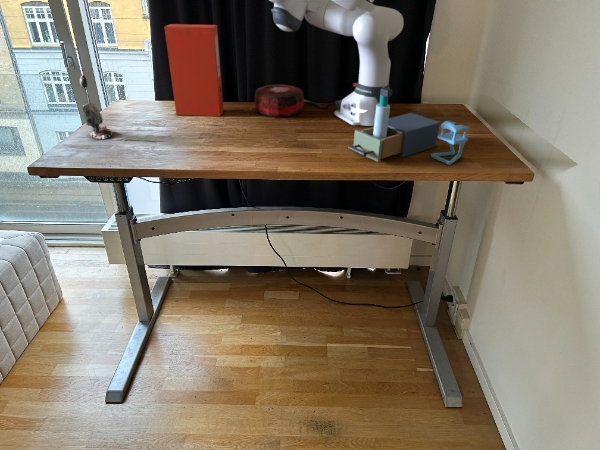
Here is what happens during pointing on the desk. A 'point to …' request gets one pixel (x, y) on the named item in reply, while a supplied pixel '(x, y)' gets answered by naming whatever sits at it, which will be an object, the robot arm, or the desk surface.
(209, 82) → the file binder
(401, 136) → the drawer
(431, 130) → the cabinet
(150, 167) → the desk surface
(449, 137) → the chair
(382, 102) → the spray bottle
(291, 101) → the red flat cylinder
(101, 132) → the plant with pod
